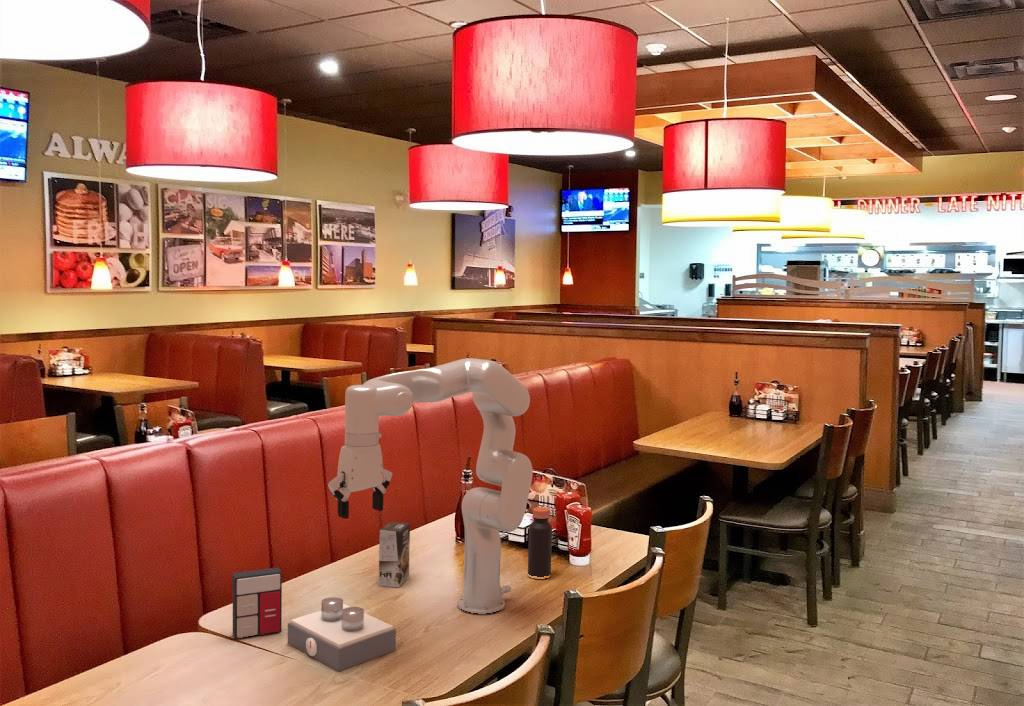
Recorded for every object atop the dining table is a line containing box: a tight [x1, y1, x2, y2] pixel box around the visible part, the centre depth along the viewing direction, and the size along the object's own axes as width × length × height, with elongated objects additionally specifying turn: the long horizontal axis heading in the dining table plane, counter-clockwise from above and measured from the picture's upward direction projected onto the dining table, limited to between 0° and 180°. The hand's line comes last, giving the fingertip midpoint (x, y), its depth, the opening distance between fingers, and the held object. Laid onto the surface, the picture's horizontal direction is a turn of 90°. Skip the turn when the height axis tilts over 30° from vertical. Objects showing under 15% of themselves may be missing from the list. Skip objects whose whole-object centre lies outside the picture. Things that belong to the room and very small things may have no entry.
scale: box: [287, 603, 397, 672], centre depth 202 cm, size 17×20×6 cm
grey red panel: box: [231, 567, 283, 639], centre depth 208 cm, size 11×4×15 cm, turn 117°
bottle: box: [527, 506, 553, 577], centre depth 254 cm, size 7×7×20 cm
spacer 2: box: [342, 606, 365, 632], centre depth 199 cm, size 5×5×4 cm
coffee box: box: [378, 521, 411, 588], centre depth 247 cm, size 9×6×16 cm
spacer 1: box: [320, 596, 344, 621], centre depth 205 cm, size 5×5×4 cm
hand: (360, 513), depth 199 cm, fingers open, 9 cm apart
